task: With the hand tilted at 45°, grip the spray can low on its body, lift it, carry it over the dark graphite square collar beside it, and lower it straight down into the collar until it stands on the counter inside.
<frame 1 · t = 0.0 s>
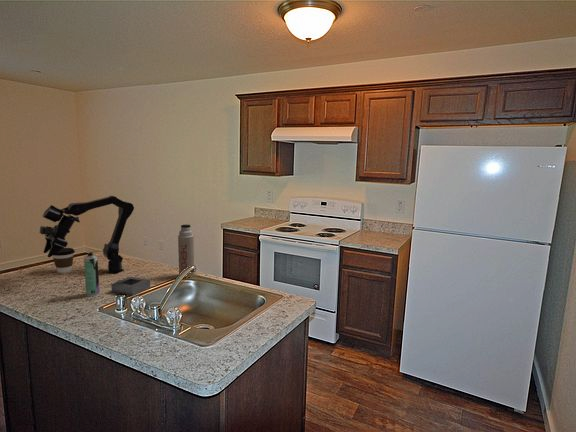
hand: (46, 254, 177), 15 cm above the table, tool tilted 35°, fingers open, 9 cm apart
collar: (131, 289, 175), on the table
thermos bottle: (186, 276, 196), on the table
spray can: (93, 294, 168), on the table
coffee cup: (64, 271, 199), on the table
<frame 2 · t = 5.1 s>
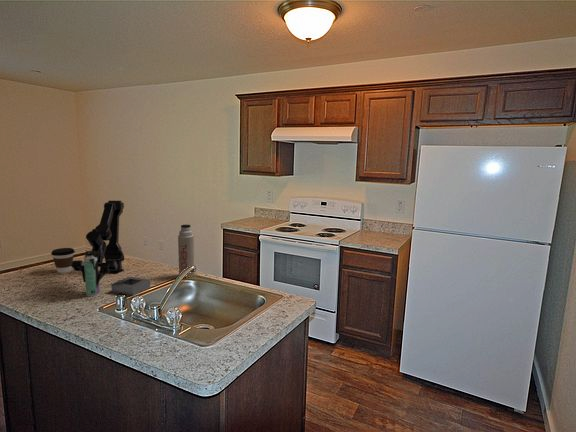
hand: (91, 281, 166), 7 cm above the table, tool tilted 45°, fingers closed on spray can, 5 cm apart
spray can: (93, 294, 168), on the table, touching gripper
everything else where it was.
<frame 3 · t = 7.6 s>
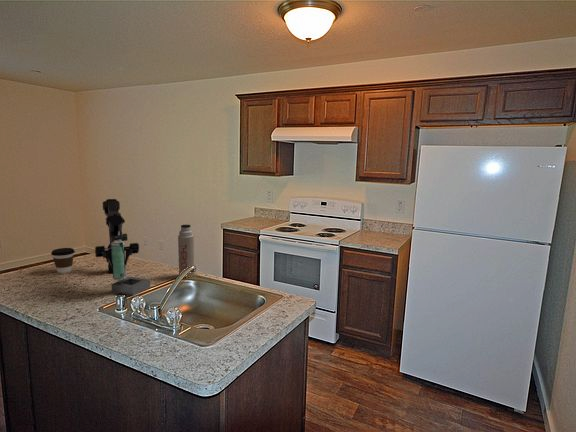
hand: (119, 265, 169), 13 cm above the table, tool tilted 45°, fingers closed on spray can, 5 cm apart
spray can: (119, 278, 171), point 6 cm above the table, touching gripper
everything else where it was.
when the fingers open (8 cm above the table, at t = 10.1 s): spray can drops 1 cm, resting in collar.
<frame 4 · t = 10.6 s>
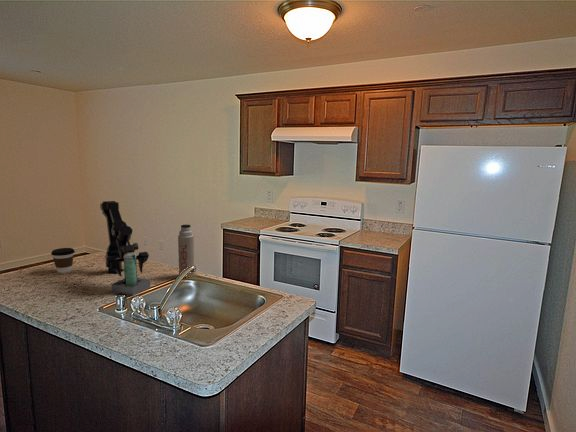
hand: (131, 274, 172), 8 cm above the table, tool tilted 45°, fingers open, 9 cm apart
spray can: (131, 290, 175), resting in collar
everything else where it was.
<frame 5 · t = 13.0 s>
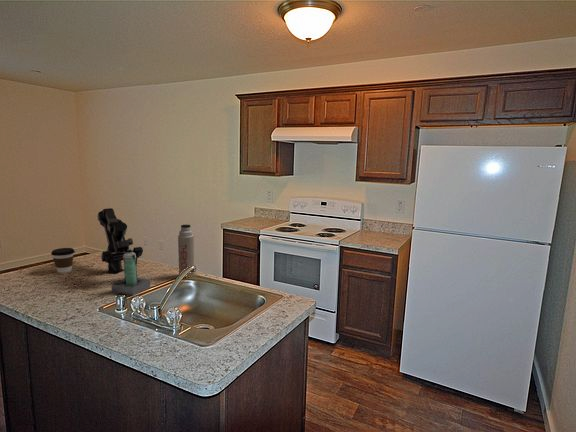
hand: (126, 268, 180), 8 cm above the table, tool tilted 45°, fingers open, 9 cm apart
nothing on the table moved.
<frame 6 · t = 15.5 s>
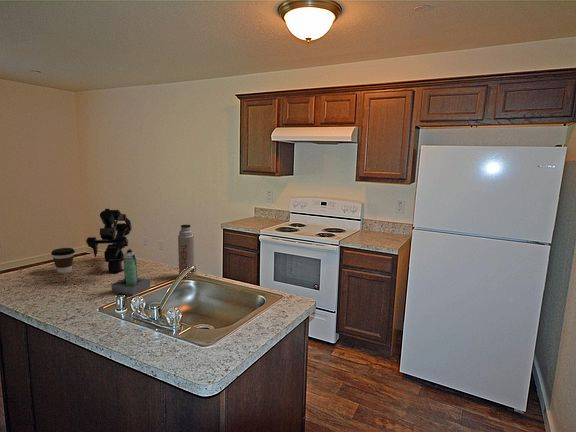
hand: (105, 256, 182), 14 cm above the table, tool tilted 45°, fingers open, 9 cm apart
nothing on the table moved.
at the end: spray can 0.1 cm off-centre on the collar, point 0.0 cm above the collar's base; spray can tilted 0°; the gripper is holding nothing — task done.
